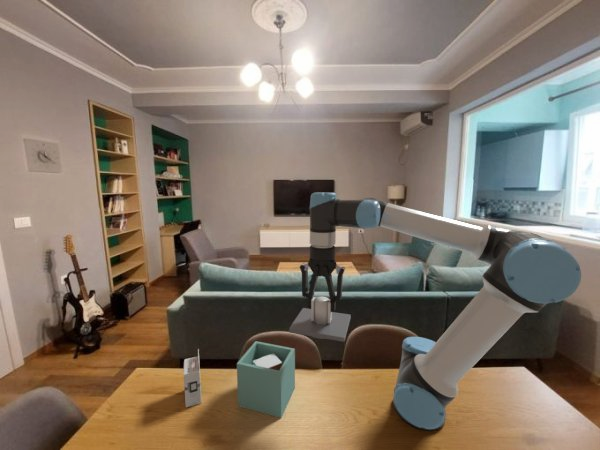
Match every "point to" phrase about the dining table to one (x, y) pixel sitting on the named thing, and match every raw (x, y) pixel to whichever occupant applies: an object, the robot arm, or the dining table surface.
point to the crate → (266, 380)
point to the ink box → (192, 381)
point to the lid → (321, 322)
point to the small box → (269, 362)
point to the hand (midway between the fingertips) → (321, 319)
